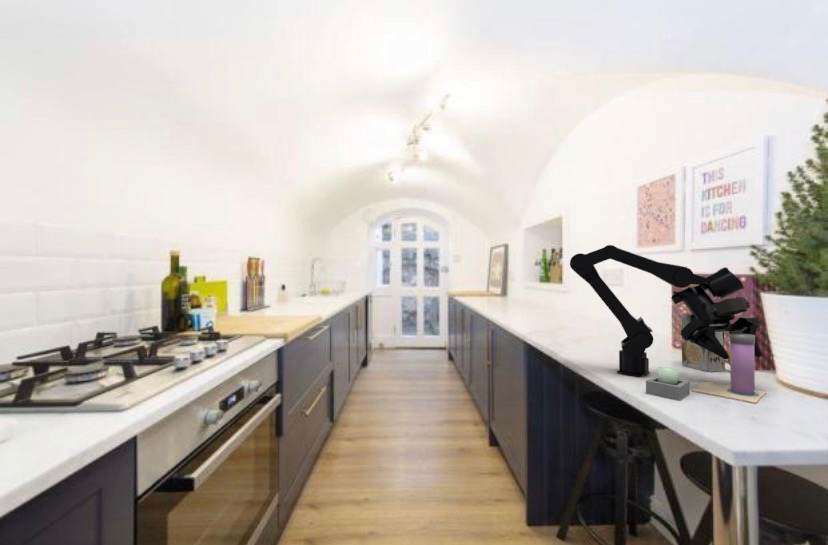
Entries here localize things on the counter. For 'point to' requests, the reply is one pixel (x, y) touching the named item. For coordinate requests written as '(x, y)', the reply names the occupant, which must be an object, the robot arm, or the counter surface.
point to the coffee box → (701, 352)
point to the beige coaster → (727, 392)
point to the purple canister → (742, 363)
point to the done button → (668, 375)
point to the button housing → (668, 388)
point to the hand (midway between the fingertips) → (744, 357)
